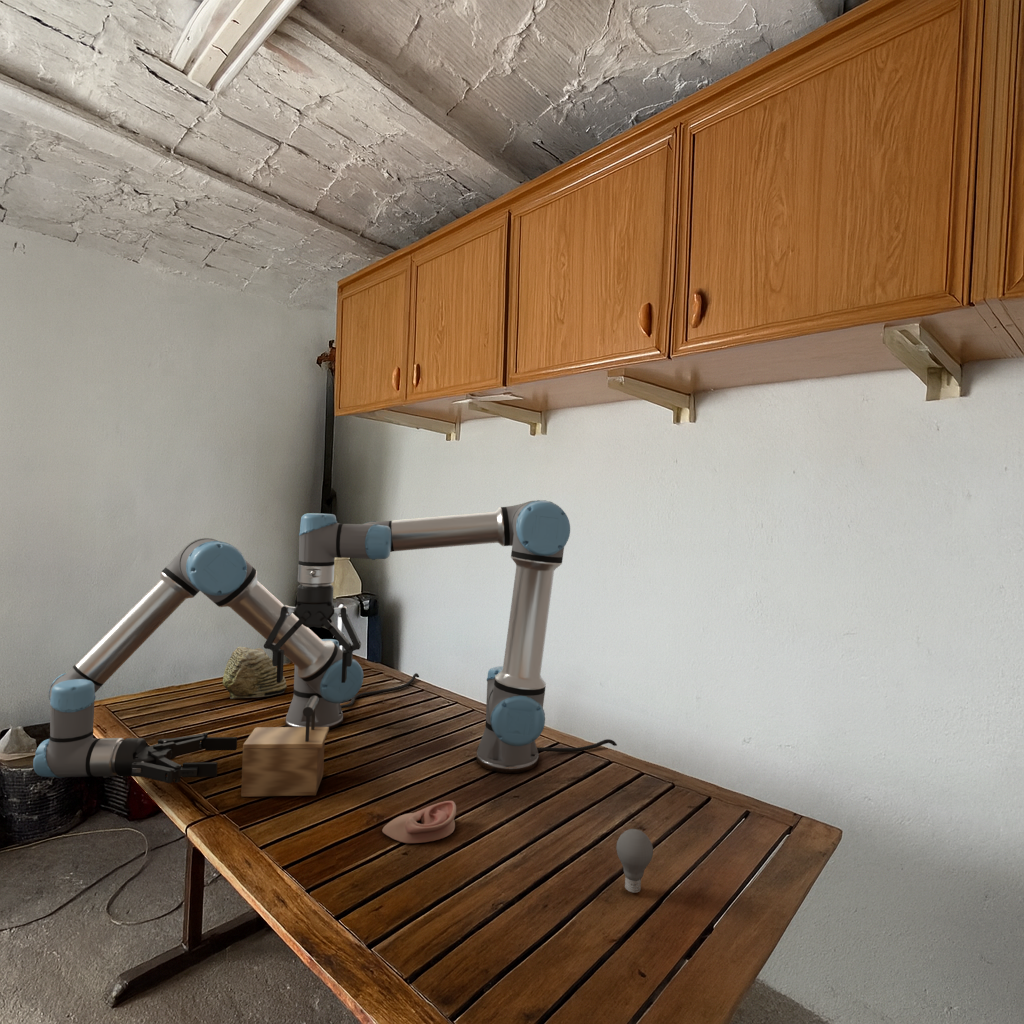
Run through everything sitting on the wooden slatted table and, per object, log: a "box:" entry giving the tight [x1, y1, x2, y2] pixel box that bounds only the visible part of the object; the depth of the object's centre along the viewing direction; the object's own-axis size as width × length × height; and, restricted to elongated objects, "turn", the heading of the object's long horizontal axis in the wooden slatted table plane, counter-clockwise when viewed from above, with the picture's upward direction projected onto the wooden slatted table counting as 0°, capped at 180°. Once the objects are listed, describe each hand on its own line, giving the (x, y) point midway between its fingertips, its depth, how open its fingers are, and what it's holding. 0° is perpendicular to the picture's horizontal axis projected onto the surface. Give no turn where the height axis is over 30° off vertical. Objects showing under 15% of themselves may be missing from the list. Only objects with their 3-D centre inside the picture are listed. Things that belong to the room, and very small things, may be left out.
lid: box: [242, 696, 330, 749], centre depth 138 cm, size 16×10×8 cm, turn 98°
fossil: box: [222, 646, 288, 699], centre depth 198 cm, size 9×18×15 cm, turn 132°
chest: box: [240, 740, 326, 798], centre depth 138 cm, size 15×10×10 cm, turn 98°
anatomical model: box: [381, 800, 457, 844], centre depth 122 cm, size 13×4×12 cm
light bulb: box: [615, 828, 654, 894], centre depth 106 cm, size 6×6×10 cm
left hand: (227, 755), depth 136 cm, fingers open, 13 cm apart
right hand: (312, 681), depth 138 cm, fingers open, 13 cm apart
